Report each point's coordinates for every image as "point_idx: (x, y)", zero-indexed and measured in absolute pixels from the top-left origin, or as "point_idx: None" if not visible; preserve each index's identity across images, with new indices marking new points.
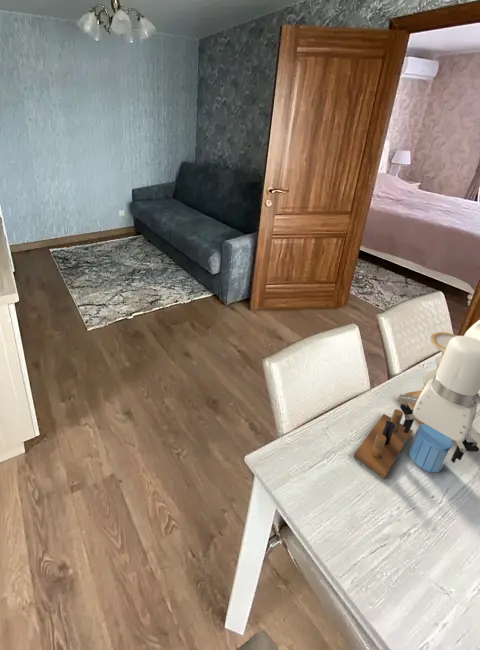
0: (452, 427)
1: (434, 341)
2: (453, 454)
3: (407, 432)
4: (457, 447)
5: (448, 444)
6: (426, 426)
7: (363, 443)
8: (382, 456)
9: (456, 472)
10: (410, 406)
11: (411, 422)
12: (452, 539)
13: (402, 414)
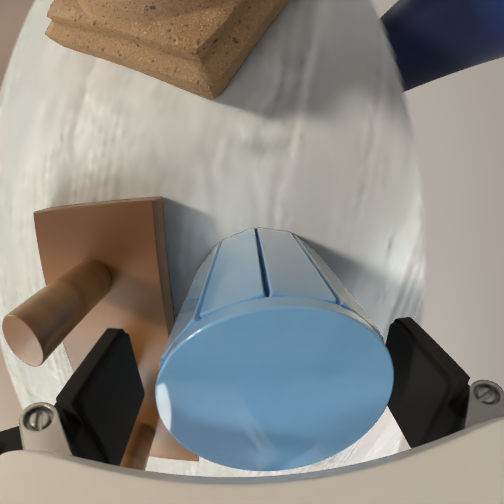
0: None
1: None
2: (394, 398)
3: (142, 401)
4: (424, 434)
5: (373, 407)
6: (192, 376)
7: None
8: (156, 426)
9: (376, 253)
10: (92, 42)
11: (115, 464)
12: (367, 447)
13: (38, 346)
